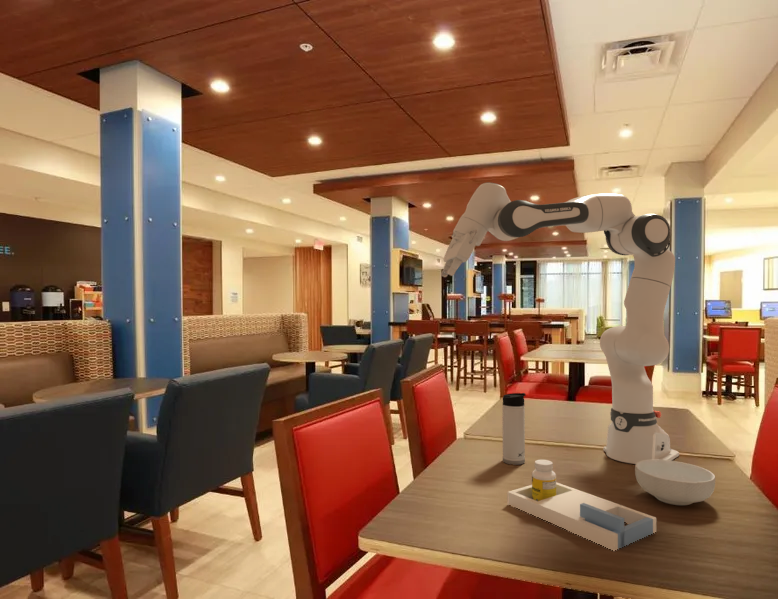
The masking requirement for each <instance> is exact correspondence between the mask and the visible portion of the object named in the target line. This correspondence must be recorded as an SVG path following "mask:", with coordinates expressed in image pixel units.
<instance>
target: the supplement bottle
mask: <svg viewBox="0 0 778 599" xmlns="http://www.w3.org/2000/svg"><path fill="white" fill-rule="evenodd" d="M553 464H554V463H553V461H551V460H548V459H537V460H536V459H535V461H534V468H535V469H534V470H533V471H532V472H531V485H532V499H533V500H535V501H541V500H544V499H547V498H550V497H553V496H556V482H557V474H556V472H555V471H554V470H553V468H554V465H553Z"/></svg>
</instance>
